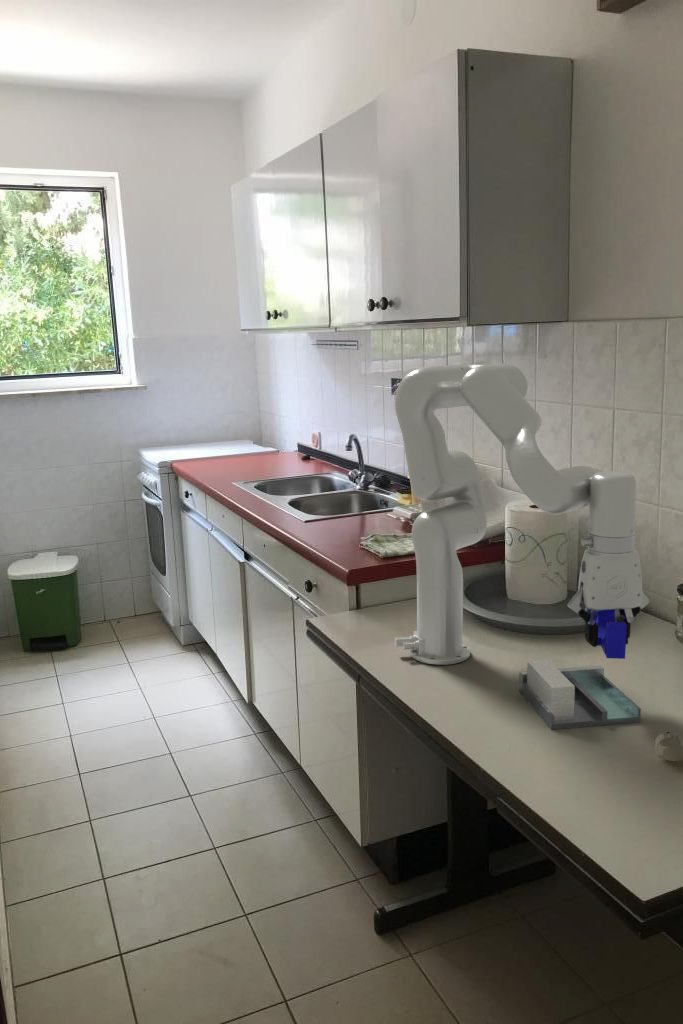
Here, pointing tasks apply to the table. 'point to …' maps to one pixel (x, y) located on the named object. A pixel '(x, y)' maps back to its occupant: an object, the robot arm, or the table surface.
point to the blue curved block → (611, 634)
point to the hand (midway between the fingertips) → (607, 641)
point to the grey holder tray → (575, 696)
